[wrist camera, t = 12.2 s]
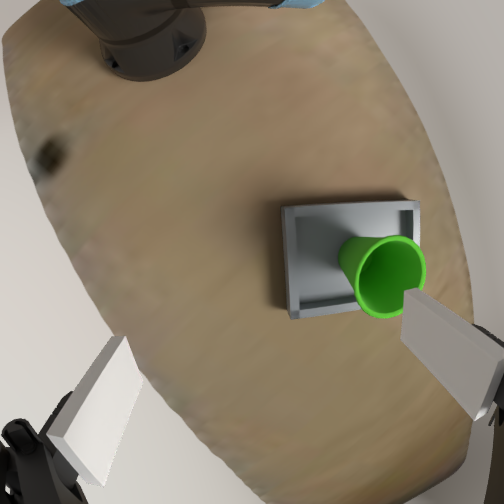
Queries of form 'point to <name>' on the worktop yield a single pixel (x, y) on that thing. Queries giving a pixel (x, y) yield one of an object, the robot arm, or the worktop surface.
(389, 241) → the cup
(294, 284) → the grey tray
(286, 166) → the worktop surface
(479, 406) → the robot arm
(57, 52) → the worktop surface
